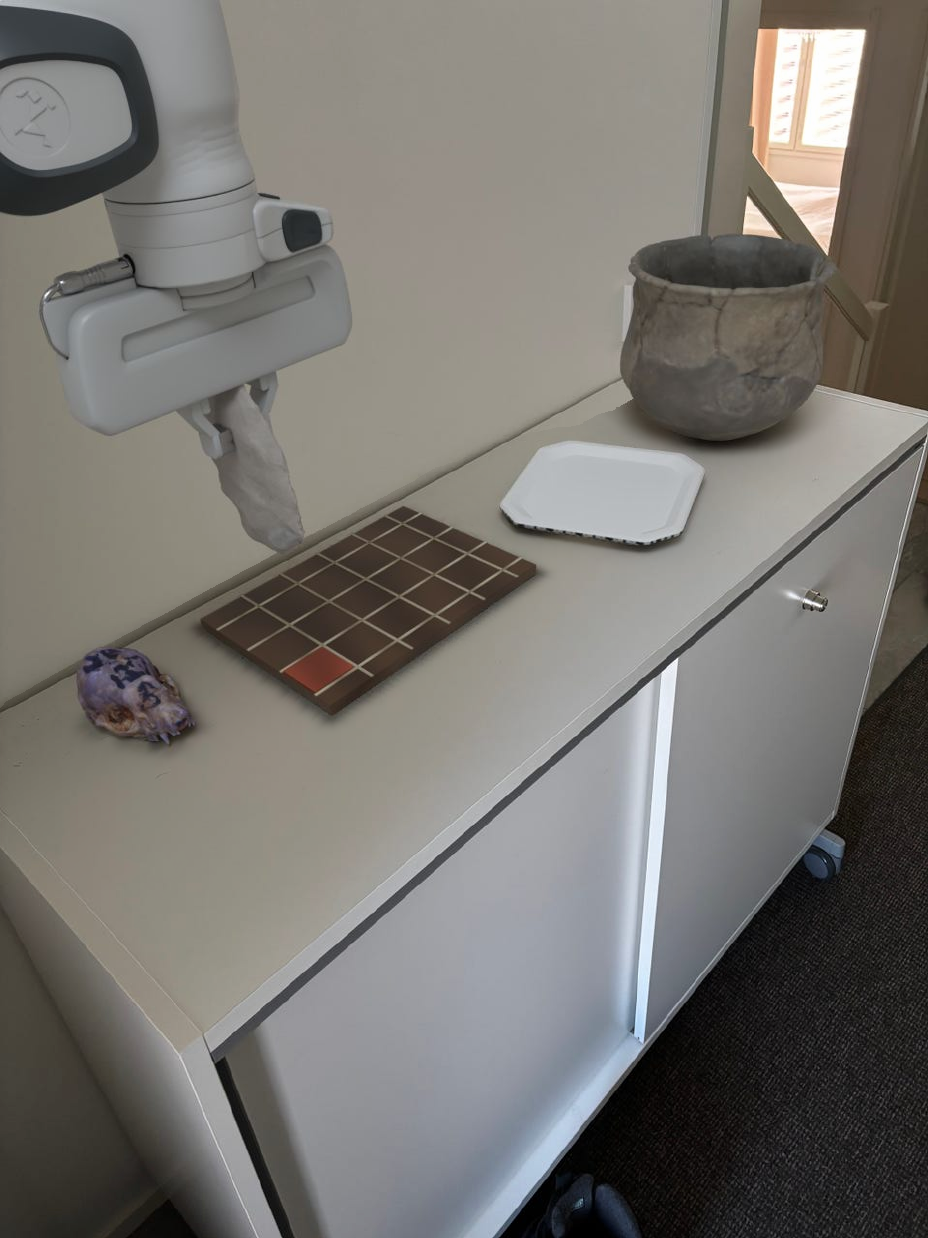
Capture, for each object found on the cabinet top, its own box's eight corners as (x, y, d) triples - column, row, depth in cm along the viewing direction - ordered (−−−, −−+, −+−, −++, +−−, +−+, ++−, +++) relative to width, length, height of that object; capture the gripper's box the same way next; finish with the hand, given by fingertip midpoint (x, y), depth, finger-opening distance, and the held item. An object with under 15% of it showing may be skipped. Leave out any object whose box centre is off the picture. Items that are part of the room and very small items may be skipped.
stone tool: (226, 542, 72) (149, 370, 62) (254, 518, 74) (184, 347, 64) (312, 573, 67) (244, 393, 57) (340, 547, 69) (279, 367, 59)
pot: (844, 422, 120) (879, 251, 107) (739, 488, 108) (764, 305, 95) (687, 374, 135) (700, 220, 122) (579, 427, 123) (581, 263, 110)
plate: (709, 472, 111) (710, 455, 110) (674, 563, 96) (676, 545, 95) (545, 452, 118) (545, 436, 117) (489, 533, 103) (488, 516, 102)
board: (331, 715, 80) (329, 704, 80) (202, 628, 92) (199, 617, 91) (536, 574, 96) (536, 562, 95) (404, 514, 107) (403, 503, 107)
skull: (218, 720, 80) (191, 670, 76) (143, 777, 76) (111, 728, 73) (151, 667, 87) (123, 619, 83) (80, 716, 84) (47, 669, 80)
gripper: (54, 293, 48) (128, 520, 57) (351, 206, 59) (377, 406, 68) (3, 273, 52) (80, 489, 60) (292, 195, 63) (323, 386, 71)
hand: (239, 445), depth 64 cm, fingers closed on stone tool, 2 cm apart
